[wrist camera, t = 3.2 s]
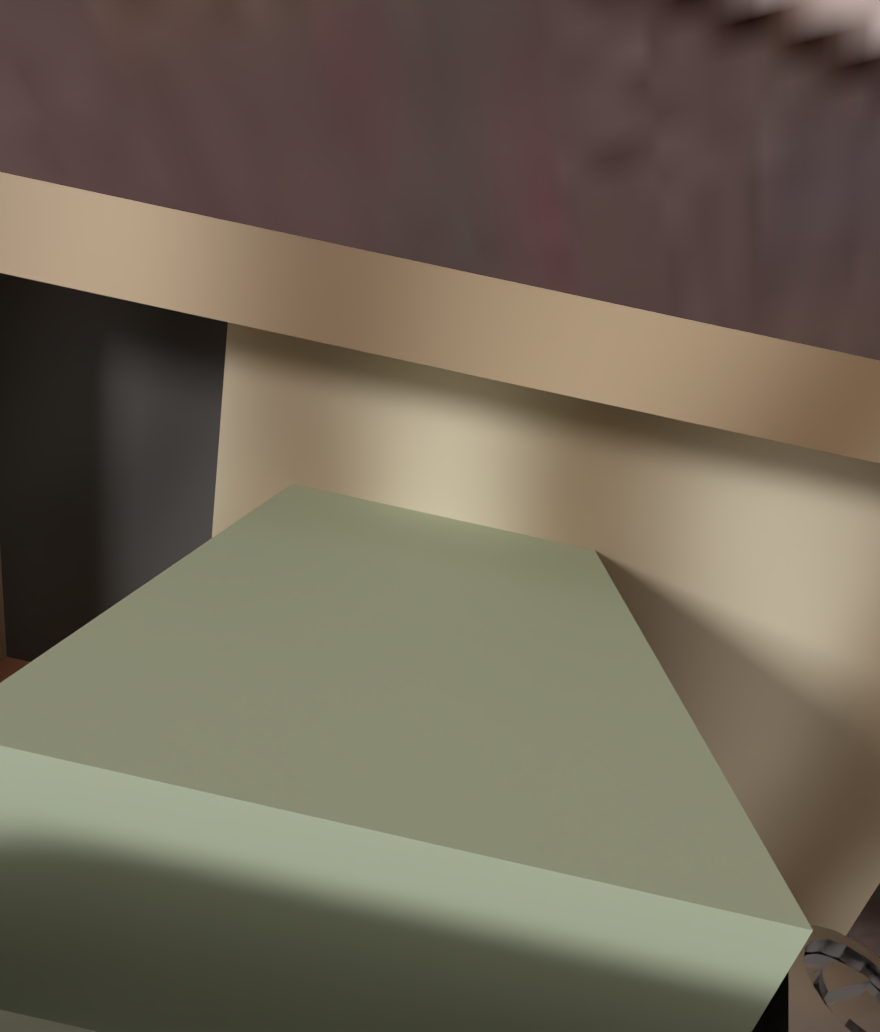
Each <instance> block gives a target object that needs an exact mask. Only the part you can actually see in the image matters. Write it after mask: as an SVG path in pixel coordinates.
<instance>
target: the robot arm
mask: <svg viewBox="0 0 880 1032" xmlns="http://www.w3.org/2000/svg"><path fill="white" fill-rule="evenodd" d="M811 928H812V929H813V931H812V933H811V935H810V936H809V938H808V940H807V941H806V943H805V945H804V946H803V948H802V950H801V951H800V953H799V954H798V956H797V958H796V959H795V961H794V963H793V964H792V966H791V968H790V969H789V971H788V973H787V974H786V976H785V978H784V979H783V981H782V983H781V984H780V986H779V987H778V989H777V991H776V992H775V994H774V996H773V997H772V999H771V1001H770V1002H769V1004H768V1006H767V1007H766V1009H765V1011H764V1012H763V1014H762V1016H761V1017H760V1019H759V1020H758V1022H757V1024H756V1025H755V1027H754V1029H753V1030H752V1032H880V958H879V957H878V956H876V955H875V954H874V953H872V952H871V951H869V950H868V949H866V948H865V947H864V946H862V945H861V944H859V943H858V942H856V941H855V940H853V939H851V938H849V937H847V936H845V935H843V934H841V933H839V932H837V931H835V930H831V929H828V928H824V927H820V926H816V925H815V926H811ZM0 1032H97V1031H93V1030H88V1029H84V1028H79V1027H75V1026H70V1025H66V1024H62V1023H57V1022H53V1021H48V1020H44V1019H40V1018H35V1017H31V1016H26V1015H22V1014H17V1013H13V1012H9V1011H4V1010H0Z"/></svg>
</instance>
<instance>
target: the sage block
mask: <svg viewBox="0 0 880 1032" xmlns="http://www.w3.org/2000/svg"><path fill="white" fill-rule="evenodd" d="M812 931H813V929H812V928H811V926H810V924H809V922H808V921H807V919H806V917H805V915H804V914H803V912H802V910H801V908H800V907H799V905H798V903H797V902H796V900H795V898H794V896H793V895H792V893H791V891H790V889H789V888H788V886H787V884H786V882H785V881H784V879H783V877H782V875H781V874H780V872H779V870H778V868H777V867H776V865H775V863H774V861H773V860H772V858H771V856H770V855H769V853H768V851H767V849H766V848H765V846H764V844H763V842H762V841H761V839H760V837H759V835H758V834H757V832H756V830H755V828H754V827H753V825H752V823H751V821H750V820H749V818H748V816H747V814H746V813H745V811H744V809H743V807H742V806H741V804H740V802H739V801H738V799H737V797H736V795H735V794H734V792H733V790H732V788H731V787H730V785H729V783H728V781H727V780H726V778H725V776H724V774H723V773H722V771H721V769H720V767H719V766H718V764H717V762H716V760H715V759H714V757H713V755H712V753H711V752H710V750H709V748H708V747H707V745H706V743H705V741H704V740H703V738H702V736H701V734H700V733H699V731H698V729H697V727H696V726H695V724H694V722H693V720H692V719H691V717H690V715H689V713H688V712H687V710H686V708H685V706H684V705H683V703H682V701H681V700H680V698H679V696H678V694H677V693H676V691H675V689H674V687H673V686H672V684H671V682H670V680H669V679H668V677H667V675H666V673H665V672H664V670H663V668H662V666H661V665H660V663H659V661H658V659H657V658H656V656H655V654H654V652H653V651H652V649H651V647H650V646H649V644H648V642H647V640H646V639H645V637H644V635H643V633H642V632H641V630H640V628H639V626H638V625H637V623H636V621H635V619H634V618H633V616H632V614H631V612H630V611H629V609H628V607H627V605H626V604H625V602H624V600H623V598H622V597H621V595H620V593H619V592H618V590H617V588H616V586H615V585H614V583H613V581H612V579H611V578H610V576H609V574H608V572H607V571H606V569H605V567H604V565H603V564H602V562H601V560H600V558H599V557H598V555H597V553H596V551H595V550H592V549H588V548H583V547H579V546H574V545H570V544H565V543H560V542H556V541H551V540H547V539H542V538H538V537H533V536H529V535H524V534H520V533H515V532H510V531H506V530H501V529H497V528H492V527H488V526H483V525H479V524H474V523H470V522H465V521H460V520H456V519H451V518H447V517H442V516H438V515H433V514H429V513H424V512H420V511H415V510H410V509H406V508H401V507H397V506H392V505H388V504H383V503H379V502H374V501H370V500H365V499H360V498H356V497H351V496H347V495H342V494H338V493H333V492H329V491H324V490H320V489H315V488H310V487H306V486H301V485H297V484H291V485H289V486H288V487H286V488H285V489H283V490H282V491H280V492H279V493H277V494H276V495H274V496H273V497H271V498H270V499H269V500H267V501H266V502H264V503H263V504H261V505H260V506H258V507H257V508H255V509H254V510H252V511H251V512H250V513H248V514H247V515H245V516H244V517H242V518H241V519H239V520H238V521H236V522H235V523H233V524H232V525H231V526H229V527H228V528H226V529H225V530H223V531H222V532H220V533H219V534H217V535H216V536H214V537H213V538H212V539H210V540H209V541H207V542H206V543H204V544H203V545H201V546H200V547H198V548H197V549H195V550H194V551H192V552H191V553H190V554H188V555H187V556H185V557H184V558H182V559H181V560H179V561H178V562H176V563H175V564H173V565H172V566H171V567H169V568H168V569H166V570H165V571H163V572H162V573H160V574H159V575H157V576H156V577H154V578H153V579H152V580H150V581H149V582H147V583H146V584H144V585H143V586H141V587H140V588H138V589H137V590H135V591H134V592H133V593H131V594H130V595H128V596H127V597H125V598H124V599H122V600H121V601H119V602H118V603H116V604H115V605H113V606H112V607H111V608H109V609H108V610H106V611H105V612H103V613H102V614H100V615H99V616H97V617H96V618H94V619H93V620H92V621H90V622H89V623H87V624H86V625H84V626H83V627H81V628H80V629H78V630H77V631H75V632H74V633H73V634H71V635H70V636H68V637H67V638H65V639H64V640H62V641H61V642H59V643H58V644H56V645H55V646H54V647H52V648H51V649H49V650H48V651H46V652H45V653H43V654H42V655H40V656H39V657H37V658H36V659H34V660H33V661H32V662H30V663H29V664H27V665H26V666H24V667H23V668H21V669H20V670H18V671H17V672H15V673H14V674H13V675H11V676H10V677H8V678H7V679H5V680H4V681H2V682H1V683H0V1010H4V1011H9V1012H13V1013H17V1014H22V1015H26V1016H31V1017H35V1018H40V1019H44V1020H48V1021H53V1022H57V1023H62V1024H66V1025H70V1026H75V1027H79V1028H84V1029H88V1030H93V1031H97V1032H752V1030H753V1029H754V1027H755V1025H756V1024H757V1022H758V1020H759V1019H760V1017H761V1016H762V1014H763V1012H764V1011H765V1009H766V1007H767V1006H768V1004H769V1002H770V1001H771V999H772V997H773V996H774V994H775V992H776V991H777V989H778V987H779V986H780V984H781V983H782V981H783V979H784V978H785V976H786V974H787V973H788V971H789V969H790V968H791V966H792V964H793V963H794V961H795V959H796V958H797V956H798V954H799V953H800V951H801V950H802V948H803V946H804V945H805V943H806V941H807V940H808V938H809V936H810V935H811V933H812Z"/></svg>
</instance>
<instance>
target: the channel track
mask: <svg viewBox="0 0 880 1032" xmlns="http://www.w3.org/2000/svg"><path fill="white" fill-rule="evenodd" d="M291 484H297V485H301V486H306V487H310V488H315V489H320V490H324V491H329V492H333V493H338V494H342V495H347V496H351V497H356V498H360V499H365V500H370V501H374V502H379V503H383V504H388V505H392V506H397V507H401V508H406V509H410V510H415V511H420V512H424V513H429V514H433V515H438V516H442V517H447V518H451V519H456V520H460V521H465V522H470V523H474V524H479V525H483V526H488V527H492V528H497V529H501V530H506V531H510V532H515V533H520V534H524V535H529V536H533V537H538V538H542V539H547V540H551V541H556V542H560V543H565V544H570V545H574V546H579V547H583V548H588V549H592V550H595V551H596V553H597V555H598V557H599V558H600V560H601V562H602V564H603V565H604V567H605V569H606V571H607V572H608V574H609V576H610V578H611V579H612V581H613V583H614V585H615V586H616V588H617V590H618V592H619V593H620V595H621V597H622V598H623V600H624V602H625V604H626V605H627V607H628V609H629V611H630V612H631V614H632V616H633V618H634V619H635V621H636V623H637V625H638V626H639V628H640V630H641V632H642V633H643V635H644V637H645V639H646V640H647V642H648V644H649V646H650V647H651V649H652V651H653V652H654V654H655V656H656V658H657V659H658V661H659V663H660V665H661V666H662V668H663V670H664V672H665V673H666V675H667V677H668V679H669V680H670V682H671V684H672V686H673V687H674V689H675V691H676V693H677V694H678V696H679V698H680V700H681V701H682V703H683V705H684V706H685V708H686V710H687V712H688V713H689V715H690V717H691V719H692V720H693V722H694V724H695V726H696V727H697V729H698V731H699V733H700V734H701V736H702V738H703V740H704V741H705V743H706V745H707V747H708V748H709V750H710V752H711V753H712V755H713V757H714V759H715V760H716V762H717V764H718V766H719V767H720V769H721V771H722V773H723V774H724V776H725V778H726V780H727V781H728V783H729V785H730V787H731V788H732V790H733V792H734V794H735V795H736V797H737V799H738V801H739V802H740V804H741V806H742V807H743V809H744V811H745V813H746V814H747V816H748V818H749V820H750V821H751V823H752V825H753V827H754V828H755V830H756V832H757V834H758V835H759V837H760V839H761V841H762V842H763V844H764V846H765V848H766V849H767V851H768V853H769V855H770V856H771V858H772V860H773V861H774V863H775V865H776V867H777V868H778V870H779V872H780V874H781V875H782V877H783V879H784V881H785V882H786V884H787V886H788V888H789V889H790V891H791V893H792V895H793V896H794V898H795V900H796V902H797V903H798V905H799V907H800V908H801V910H802V912H803V914H804V915H805V917H806V919H807V921H808V922H809V924H810V926H815V925H816V926H820V927H824V928H828V929H831V930H835V931H837V932H839V933H841V934H843V935H845V936H846V935H847V933H848V932H849V930H850V929H851V927H852V926H853V924H854V922H855V921H856V919H857V918H858V916H859V915H860V913H861V911H862V910H863V908H864V907H865V905H866V904H867V902H868V900H869V899H870V897H871V896H872V894H873V893H874V891H875V889H876V888H877V886H878V885H879V883H880V361H879V360H874V359H869V358H865V357H860V356H855V355H851V354H846V353H841V352H837V351H832V350H827V349H823V348H818V347H813V346H809V345H804V344H799V343H795V342H790V341H785V340H781V339H776V338H771V337H767V336H762V335H757V334H753V333H748V332H743V331H739V330H734V329H729V328H725V327H720V326H715V325H711V324H706V323H701V322H697V321H692V320H687V319H683V318H678V317H673V316H669V315H664V314H659V313H655V312H650V311H645V310H641V309H636V308H631V307H627V306H622V305H617V304H613V303H608V302H603V301H599V300H594V299H589V298H585V297H580V296H575V295H571V294H566V293H561V292H557V291H552V290H548V289H543V288H538V287H534V286H529V285H524V284H520V283H515V282H510V281H506V280H501V279H496V278H492V277H487V276H482V275H478V274H473V273H468V272H464V271H459V270H454V269H450V268H445V267H440V266H436V265H431V264H426V263H422V262H417V261H412V260H408V259H403V258H398V257H394V256H389V255H384V254H380V253H375V252H370V251H366V250H361V249H356V248H352V247H347V246H342V245H338V244H333V243H328V242H324V241H319V240H314V239H310V238H305V237H300V236H296V235H291V234H286V233H282V232H277V231H272V230H268V229H263V228H258V227H254V226H249V225H244V224H240V223H235V222H230V221H226V220H221V219H216V218H212V217H207V216H202V215H198V214H193V213H188V212H184V211H179V210H174V209H170V208H165V207H160V206H156V205H151V204H146V203H142V202H137V201H132V200H128V199H123V198H118V197H114V196H109V195H105V194H100V193H95V192H91V191H86V190H81V189H77V188H72V187H67V186H63V185H58V184H53V183H49V182H44V181H39V180H35V179H30V178H25V177H21V176H16V175H11V174H7V173H2V172H0V683H1V682H2V681H4V680H5V679H7V678H8V677H10V676H11V675H13V674H14V673H15V672H17V671H18V670H20V669H21V668H23V667H24V666H26V665H27V664H29V663H30V662H32V661H33V660H34V659H36V658H37V657H39V656H40V655H42V654H43V653H45V652H46V651H48V650H49V649H51V648H52V647H54V646H55V645H56V644H58V643H59V642H61V641H62V640H64V639H65V638H67V637H68V636H70V635H71V634H73V633H74V632H75V631H77V630H78V629H80V628H81V627H83V626H84V625H86V624H87V623H89V622H90V621H92V620H93V619H94V618H96V617H97V616H99V615H100V614H102V613H103V612H105V611H106V610H108V609H109V608H111V607H112V606H113V605H115V604H116V603H118V602H119V601H121V600H122V599H124V598H125V597H127V596H128V595H130V594H131V593H133V592H134V591H135V590H137V589H138V588H140V587H141V586H143V585H144V584H146V583H147V582H149V581H150V580H152V579H153V578H154V577H156V576H157V575H159V574H160V573H162V572H163V571H165V570H166V569H168V568H169V567H171V566H172V565H173V564H175V563H176V562H178V561H179V560H181V559H182V558H184V557H185V556H187V555H188V554H190V553H191V552H192V551H194V550H195V549H197V548H198V547H200V546H201V545H203V544H204V543H206V542H207V541H209V540H210V539H212V538H213V537H214V536H216V535H217V534H219V533H220V532H222V531H223V530H225V529H226V528H228V527H229V526H231V525H232V524H233V523H235V522H236V521H238V520H239V519H241V518H242V517H244V516H245V515H247V514H248V513H250V512H251V511H252V510H254V509H255V508H257V507H258V506H260V505H261V504H263V503H264V502H266V501H267V500H269V499H270V498H271V497H273V496H274V495H276V494H277V493H279V492H280V491H282V490H283V489H285V488H286V487H288V486H289V485H291Z"/></svg>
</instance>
